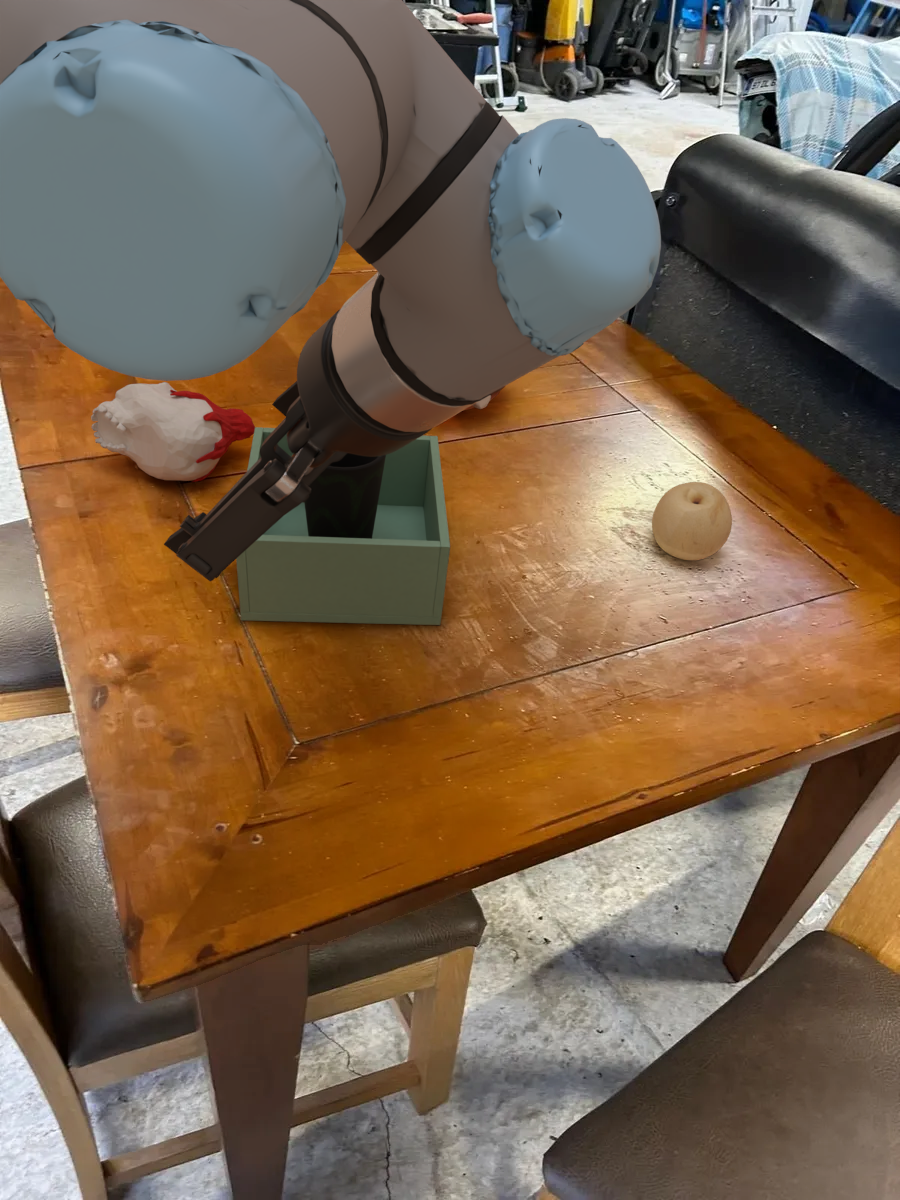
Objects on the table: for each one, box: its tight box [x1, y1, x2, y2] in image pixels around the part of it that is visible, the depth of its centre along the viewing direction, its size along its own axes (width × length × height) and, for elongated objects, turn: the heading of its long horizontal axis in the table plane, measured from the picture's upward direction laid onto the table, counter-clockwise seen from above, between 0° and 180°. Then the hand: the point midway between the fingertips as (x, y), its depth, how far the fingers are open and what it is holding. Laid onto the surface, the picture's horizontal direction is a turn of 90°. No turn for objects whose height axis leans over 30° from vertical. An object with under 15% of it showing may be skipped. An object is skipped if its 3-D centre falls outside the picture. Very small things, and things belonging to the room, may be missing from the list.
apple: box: [651, 481, 733, 561], centre depth 90 cm, size 8×8×8 cm
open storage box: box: [235, 426, 451, 626], centre depth 82 cm, size 18×18×9 cm
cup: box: [304, 453, 386, 539], centre depth 80 cm, size 8×8×12 cm
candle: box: [90, 381, 256, 483], centre depth 92 cm, size 9×11×15 cm
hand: (238, 480), depth 62 cm, fingers open, 13 cm apart
